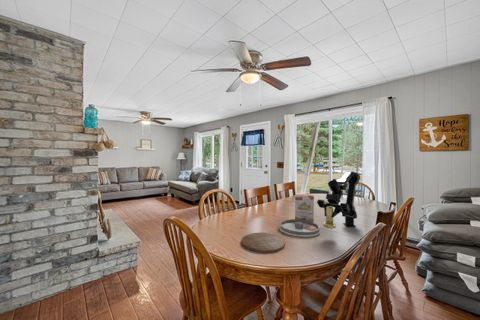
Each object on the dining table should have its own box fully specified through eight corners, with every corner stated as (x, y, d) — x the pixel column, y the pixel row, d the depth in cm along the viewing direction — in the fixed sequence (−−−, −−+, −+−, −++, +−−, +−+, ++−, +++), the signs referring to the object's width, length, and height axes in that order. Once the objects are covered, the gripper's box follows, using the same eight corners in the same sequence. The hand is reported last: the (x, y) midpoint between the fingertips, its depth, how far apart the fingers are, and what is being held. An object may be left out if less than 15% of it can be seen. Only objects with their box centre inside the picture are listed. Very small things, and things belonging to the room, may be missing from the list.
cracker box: (294, 221, 158) (294, 194, 158) (295, 219, 164) (295, 193, 164) (313, 223, 154) (313, 195, 154) (313, 221, 160) (313, 194, 160)
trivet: (235, 238, 126) (235, 235, 126) (271, 233, 135) (271, 230, 134) (252, 256, 102) (252, 253, 102) (293, 249, 111) (293, 245, 111)
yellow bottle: (322, 224, 130) (322, 206, 130) (333, 225, 130) (333, 206, 130) (325, 228, 123) (325, 208, 123) (337, 229, 123) (337, 209, 123)
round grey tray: (277, 222, 156) (277, 216, 156) (314, 223, 153) (314, 217, 153) (281, 236, 129) (281, 229, 129) (325, 237, 126) (325, 230, 126)
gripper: (318, 187, 136) (309, 206, 128) (348, 190, 122) (340, 212, 115) (323, 197, 141) (315, 216, 134) (352, 201, 127) (345, 223, 120)
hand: (328, 216), depth 126 cm, fingers closed on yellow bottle, 4 cm apart
